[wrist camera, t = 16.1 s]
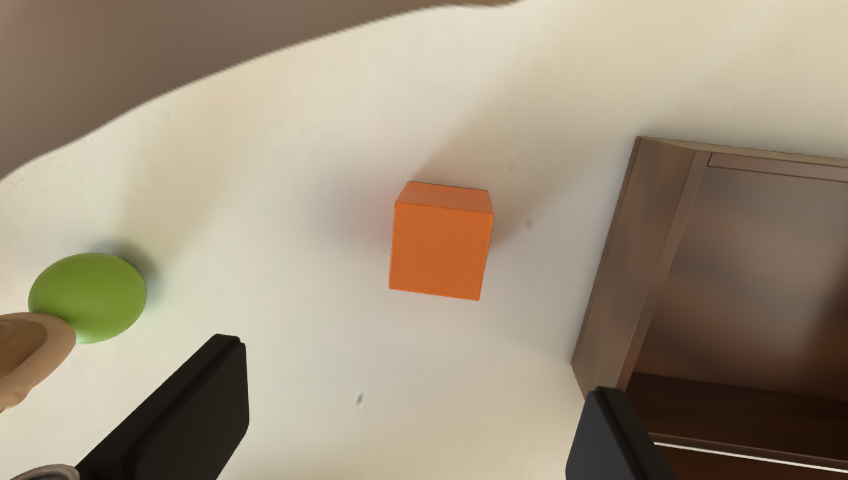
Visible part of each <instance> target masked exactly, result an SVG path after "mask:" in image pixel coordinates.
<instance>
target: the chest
mask: <svg viewBox="0 0 848 480" xmlns="http://www.w3.org/2000/svg"><path fill="white" fill-rule="evenodd" d="M571 367H572V369H573V372H574V374H575V377H576V379H577V382H578V384H579V387H580V389H581V391H582V394H583V396H584V399H585V400H586V397H587V394H588V392H589V391H594V390H595V388H596V387H597V386H604V387H611V388H618V389H621V390H622V391H623V392H624V394H625V395H626V397H627V399H628V400H629V402H630V404H631V406H632V407H633V409H634V411H635V412H636V414H637V416H638V417H639V419H640V421H641V422H642V424H643V426H644V428H645V429H646V431H647V433H648V434H649V436H650V438H651V439H652V441H653V442H658V443H665V444H672V445H679V446H685V447H692V448H699V449H706V450H713V451H719V452H726V453H733V454H740V455H746V456H753V457H760V458H767V459H774V460H780V461H787V462H794V463H801V464H807V465H814V466H821V467H828V468H835V469H841V470H848V160H846V159H837V158H828V157H819V156H810V155H802V154H793V153H784V152H775V151H766V150H758V149H749V148H740V147H731V146H722V145H714V144H705V143H696V142H687V141H678V140H669V139H661V138H652V137H643V136H637V137H636V141H635V144H634V148H633V151H632V155H631V158H630V162H629V165H628V168H627V172H626V175H625V179H624V182H623V186H622V189H621V193H620V196H619V200H618V203H617V207H616V210H615V214H614V217H613V220H612V224H611V227H610V231H609V234H608V238H607V241H606V245H605V248H604V252H603V255H602V259H601V262H600V265H599V269H598V272H597V276H596V279H595V283H594V286H593V290H592V293H591V297H590V300H589V304H588V307H587V310H586V314H585V317H584V321H583V324H582V328H581V331H580V335H579V338H578V342H577V345H576V349H575V352H574V355H573V359H572V362H571Z"/></svg>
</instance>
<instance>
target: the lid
mask: <svg viewBox="0 0 848 480" xmlns="http://www.w3.org/2000/svg"><path fill="white" fill-rule="evenodd" d="M655 446H656V448H657V449H658V450H659V451H660V452H661V453H662V455H663V456H664V458H665V459H666V461H667V463H668V464H669V466H670V468H671V469H672V471H673V473H674V474H675V476H676V478H677V479H678V480H848V473H843V472H836V471H829V470H822V469H815V468H809V467H802V466H795V465H788V464H782V463H775V462H768V461H761V460H755V459H748V458H741V457H734V456H727V455H721V454H714V453H707V452H700V451H694V450H687V449H680V448H673V447H667V446H660V445H655Z"/></svg>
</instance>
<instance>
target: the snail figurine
mask: <svg viewBox="0 0 848 480" xmlns="http://www.w3.org/2000/svg"><path fill="white" fill-rule="evenodd" d="M145 302H146V286H145V283H144V280H143V278H142V276H141V275H140V273H139V272H138V271H137V270H136V269H135V268H134V267H133V266H132V265H131V264H129V263H128V262H126V261H125V260H123V259H120V258H118V257H115V256H112V255H108V254H102V253H84V254H78V255H73V256H70V257H67V258H64V259H62V260H60V261H58V262H56V263H54V264H52V265H51V266H49V267H48V268H47V269H45V270H44V271H43V272H42V273H41V274H40V275H39V276H38V278H37V279H36V280H35V282H34V284H33V285H32V288H31V290H30V293H29V298H28V307H29V312H19V313H11V314H6V315H1V316H0V413H2V412H3V411H4V410H5V409H9V408H11V407H14V406H16V405H17V404H19V403H20V402H21V401H23V400H24V398H25V397H26V396H27V394H28V393H29V391H30V390H31V389H32V388H33V387H34V386H36V385H37V384H39V383H40V382H41V381H43V380H44V379H45V378H46V377H47V376H49V375H50V374H51V373H52V372H53V371H54V370H55V369H56V368H57V367H58V366H59V365H60V364H61V363H62V362H63V361H64V360H65V358H66V357H67V356H68V355H69V353H70V352H71V350H72V349H73V347H74V345H75V344H89V343H96V342H101V341H104V340H107V339H110V338H113V337H115V336H117V335H119V334H120V333H122V332H124V331H125V330H126V329H128V328H129V327H130V326H131V325H132V324H133V323H134V322H135V321H136V320H137V319H138V317H139V316H140V314H141V313H142V311H143V309H144V306H145Z"/></svg>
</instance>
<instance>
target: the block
mask: <svg viewBox="0 0 848 480" xmlns="http://www.w3.org/2000/svg"><path fill="white" fill-rule="evenodd" d="M493 219H494V213H493V209H492V206H491V202H490V199H489V195H488V192H487V191H484V190H476V189H467V188H459V187H451V186H443V185H434V184H426V183H418V182H410V181H409V182H407V184H406V186H405V187H404V189H403V191H402V192H401V194H400V196H399V197H398V199H397V201H396V202H395V212H394V224H393V237H392V249H391V262H390V274H389V289H394V290H401V291H409V292H416V293H424V294H431V295H439V296H446V297H453V298H461V299H468V300H476V301H478V300H479V299H480V293H481V287H482V282H483V276H484V270H485V264H486V259H487V253H488V247H489V242H490V236H491V230H492V224H493Z"/></svg>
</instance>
